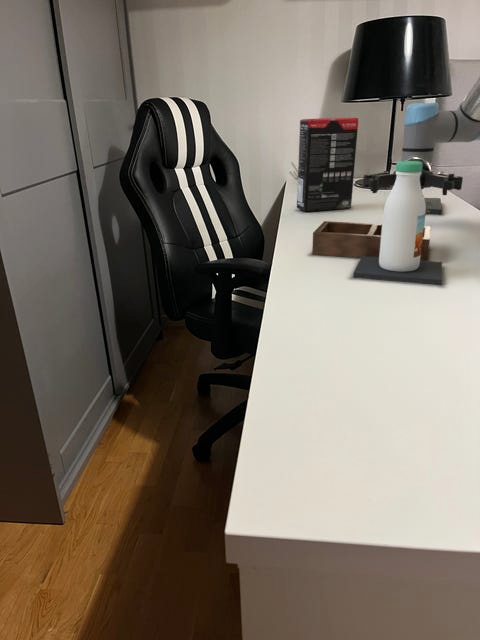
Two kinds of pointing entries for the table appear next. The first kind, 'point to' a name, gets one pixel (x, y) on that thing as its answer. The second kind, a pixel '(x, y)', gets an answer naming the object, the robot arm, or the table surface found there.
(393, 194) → the milk bottle
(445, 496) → the table surface
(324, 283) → the table surface
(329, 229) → the wooden compartment tray
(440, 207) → the smart home device
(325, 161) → the graphics card box
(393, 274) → the mat
